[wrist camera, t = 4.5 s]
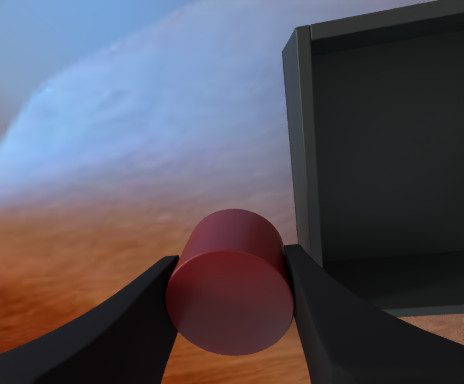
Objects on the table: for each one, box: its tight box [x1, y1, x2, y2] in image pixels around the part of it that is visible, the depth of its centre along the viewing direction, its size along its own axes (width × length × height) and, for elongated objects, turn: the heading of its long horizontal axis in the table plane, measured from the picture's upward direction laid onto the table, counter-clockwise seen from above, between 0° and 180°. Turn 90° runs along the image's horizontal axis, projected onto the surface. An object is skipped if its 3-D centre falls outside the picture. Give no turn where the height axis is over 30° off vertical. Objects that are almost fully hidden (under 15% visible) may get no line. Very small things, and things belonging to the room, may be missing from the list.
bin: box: [282, 0, 464, 317], centre depth 15 cm, size 13×15×6 cm
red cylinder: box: [165, 209, 295, 356], centre depth 11 cm, size 5×5×4 cm
